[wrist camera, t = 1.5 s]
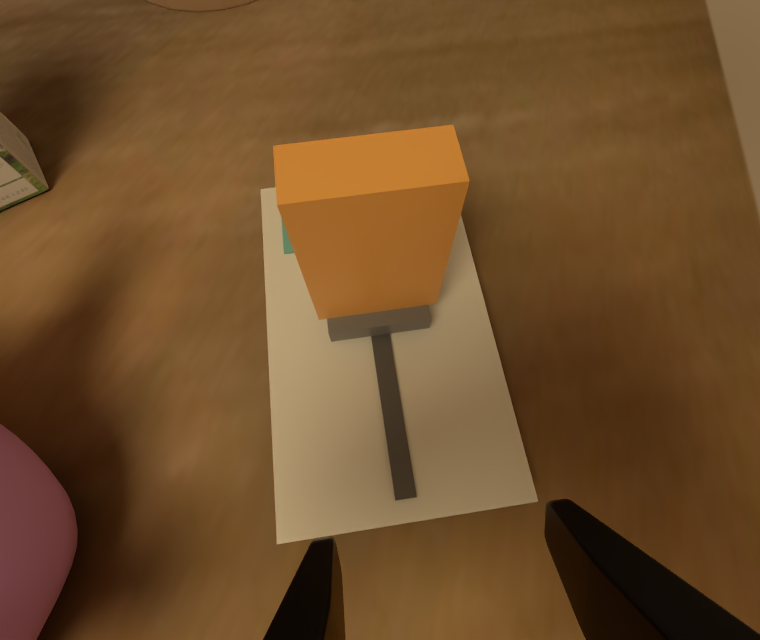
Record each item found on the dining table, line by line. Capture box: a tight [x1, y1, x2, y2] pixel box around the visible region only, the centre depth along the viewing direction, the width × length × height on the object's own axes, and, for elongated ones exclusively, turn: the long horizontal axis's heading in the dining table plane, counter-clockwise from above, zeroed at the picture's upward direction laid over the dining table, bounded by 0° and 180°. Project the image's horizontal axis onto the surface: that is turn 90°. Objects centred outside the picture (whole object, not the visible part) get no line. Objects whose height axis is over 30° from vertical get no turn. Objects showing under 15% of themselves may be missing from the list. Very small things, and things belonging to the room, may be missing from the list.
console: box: [261, 187, 538, 544], centre depth 23 cm, size 20×12×2 cm, turn 8°
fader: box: [273, 125, 470, 342], centre depth 18 cm, size 4×6×10 cm, turn 98°
